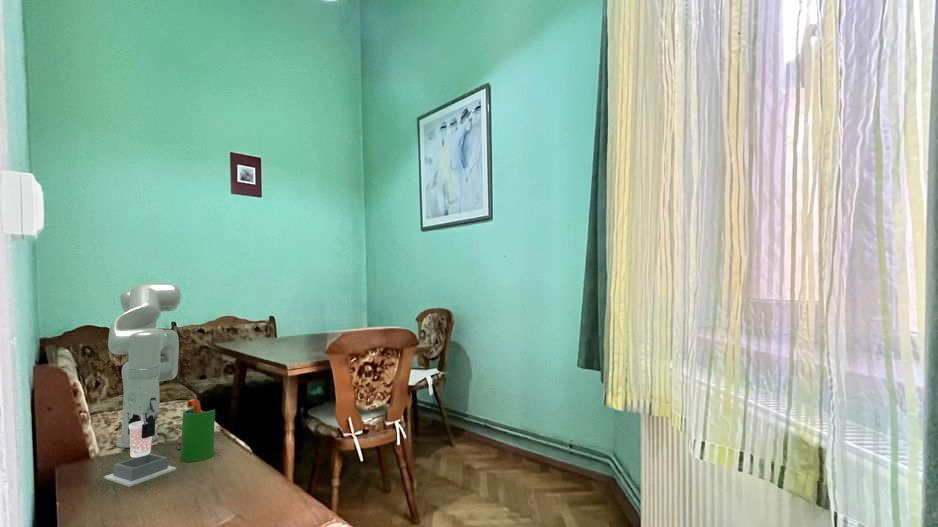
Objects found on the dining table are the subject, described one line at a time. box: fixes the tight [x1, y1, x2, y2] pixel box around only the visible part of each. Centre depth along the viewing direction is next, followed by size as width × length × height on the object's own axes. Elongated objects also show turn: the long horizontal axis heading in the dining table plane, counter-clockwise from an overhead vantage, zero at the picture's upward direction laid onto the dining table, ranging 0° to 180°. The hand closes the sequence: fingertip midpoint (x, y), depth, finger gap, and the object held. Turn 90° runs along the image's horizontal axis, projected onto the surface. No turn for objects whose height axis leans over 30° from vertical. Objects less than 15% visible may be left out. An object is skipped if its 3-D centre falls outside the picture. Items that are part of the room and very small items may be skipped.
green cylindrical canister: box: [180, 398, 216, 463], centre depth 145 cm, size 10×9×20 cm
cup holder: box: [103, 452, 177, 488], centre depth 131 cm, size 14×13×4 cm
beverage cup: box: [128, 415, 153, 458], centre depth 122 cm, size 6×6×14 cm
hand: (141, 434), depth 122 cm, fingers closed on beverage cup, 6 cm apart
